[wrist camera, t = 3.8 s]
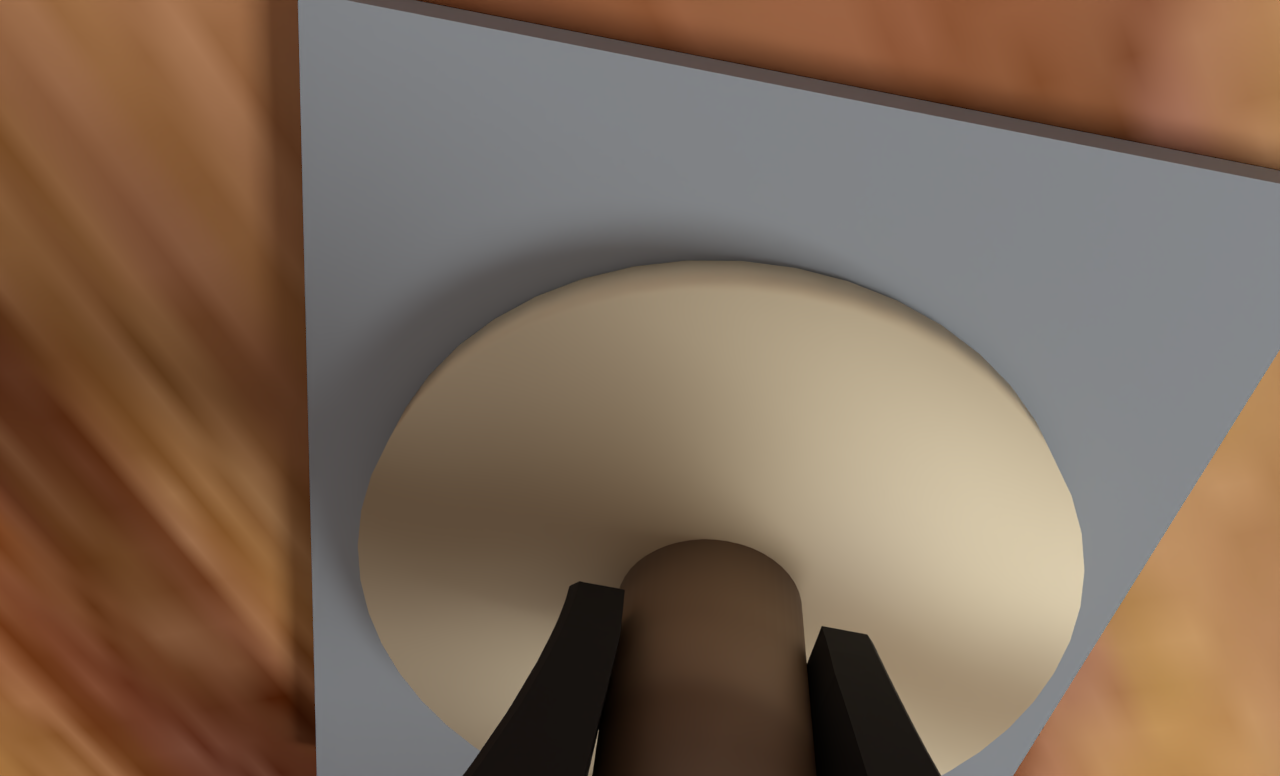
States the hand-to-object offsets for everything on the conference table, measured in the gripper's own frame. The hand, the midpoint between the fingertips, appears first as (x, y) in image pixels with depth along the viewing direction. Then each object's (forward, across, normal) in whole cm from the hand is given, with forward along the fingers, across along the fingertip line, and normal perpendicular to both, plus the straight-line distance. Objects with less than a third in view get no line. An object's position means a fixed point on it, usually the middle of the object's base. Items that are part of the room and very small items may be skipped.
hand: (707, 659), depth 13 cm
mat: (+2, 0, 0) cm, 2 cm away
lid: (+2, 0, 0) cm, 2 cm away
